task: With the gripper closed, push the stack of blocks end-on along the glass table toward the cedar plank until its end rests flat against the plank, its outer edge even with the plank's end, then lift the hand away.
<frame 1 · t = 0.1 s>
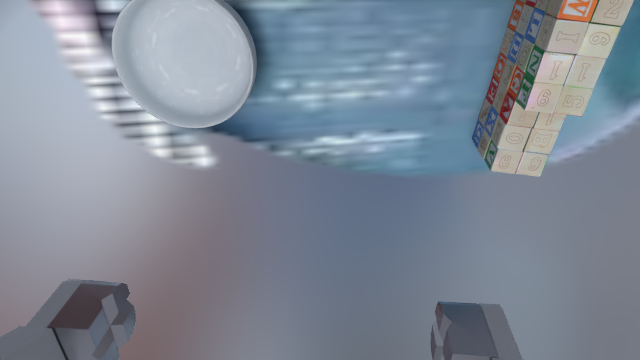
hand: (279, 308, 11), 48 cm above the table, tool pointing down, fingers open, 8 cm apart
cereal bowl: (201, 48, 57), on the table
stack of blocks: (519, 65, 55), on the table
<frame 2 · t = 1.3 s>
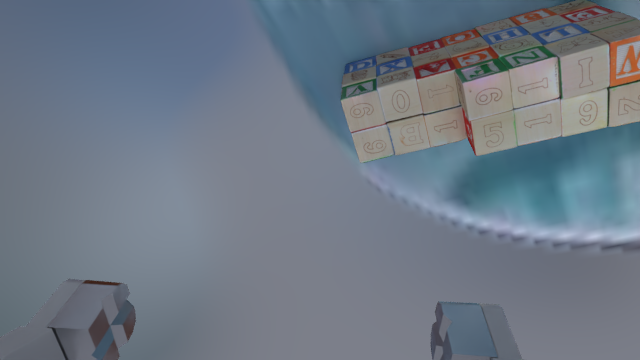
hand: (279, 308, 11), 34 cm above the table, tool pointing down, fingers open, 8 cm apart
stack of blocks: (461, 63, 41), on the table
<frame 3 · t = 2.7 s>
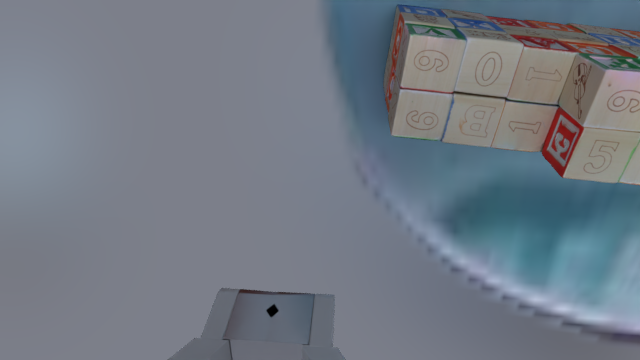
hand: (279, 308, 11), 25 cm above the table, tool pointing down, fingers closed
stack of blocks: (529, 62, 32), on the table
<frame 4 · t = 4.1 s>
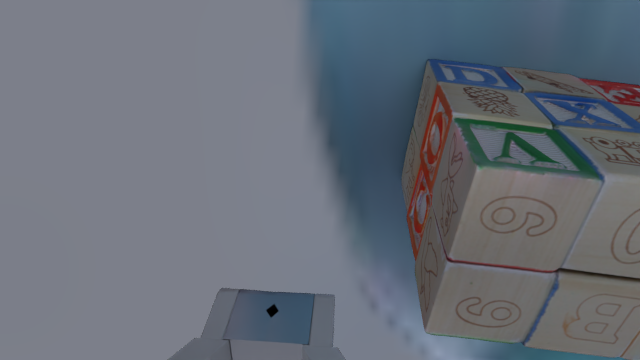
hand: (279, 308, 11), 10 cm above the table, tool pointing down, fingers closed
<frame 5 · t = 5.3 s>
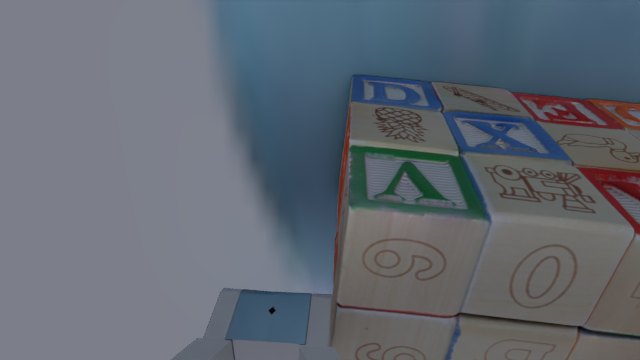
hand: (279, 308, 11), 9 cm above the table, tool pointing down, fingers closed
stack of blocks: (589, 165, 19), on the table, touching gripper
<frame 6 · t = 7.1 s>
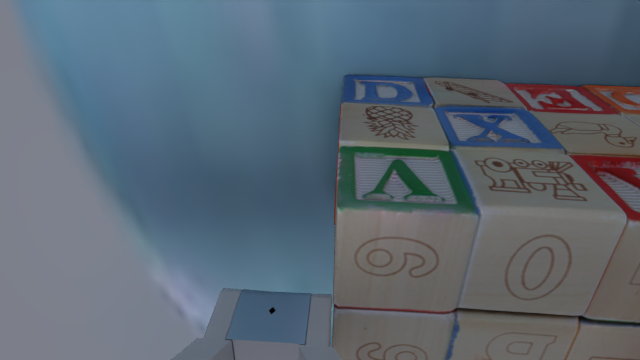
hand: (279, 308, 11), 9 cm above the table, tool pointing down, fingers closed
stack of blocks: (590, 152, 18), on the table, touching gripper
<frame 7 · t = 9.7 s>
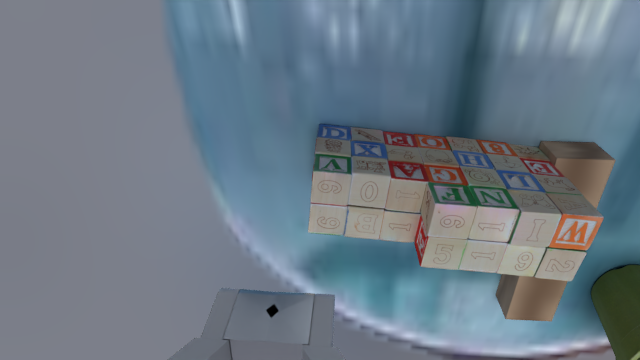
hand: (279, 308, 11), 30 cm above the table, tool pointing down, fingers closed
board: (538, 225, 46), on the table
stack of blocks: (422, 161, 43), on the table
plant pot: (621, 285, 50), on the table
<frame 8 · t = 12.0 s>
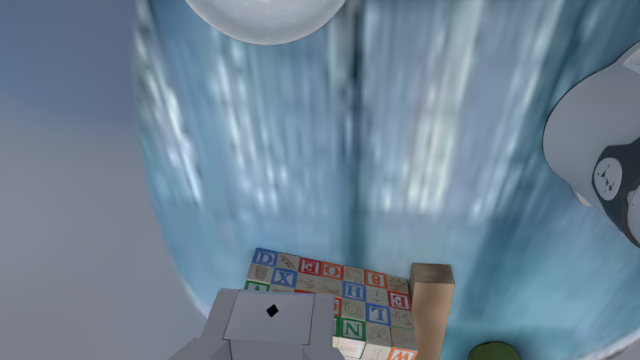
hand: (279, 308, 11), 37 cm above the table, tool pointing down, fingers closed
board: (421, 314, 63), on the table
stack of blocks: (328, 277, 61), on the table
plant pot: (491, 354, 66), on the table
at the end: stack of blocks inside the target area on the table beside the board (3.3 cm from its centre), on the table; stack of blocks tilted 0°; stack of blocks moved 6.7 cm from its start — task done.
